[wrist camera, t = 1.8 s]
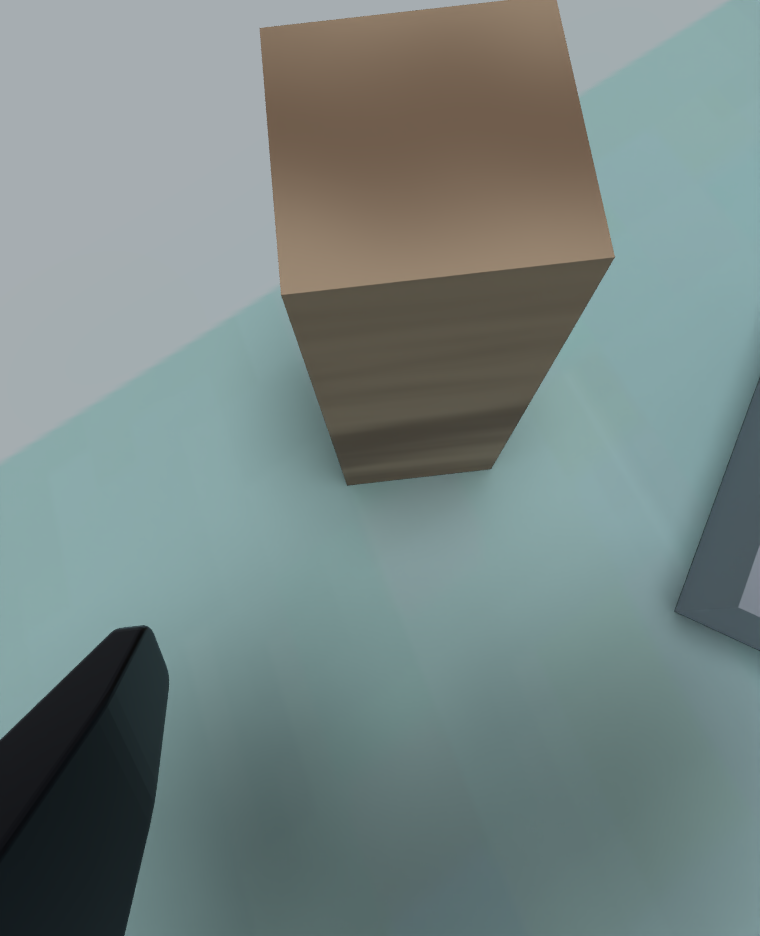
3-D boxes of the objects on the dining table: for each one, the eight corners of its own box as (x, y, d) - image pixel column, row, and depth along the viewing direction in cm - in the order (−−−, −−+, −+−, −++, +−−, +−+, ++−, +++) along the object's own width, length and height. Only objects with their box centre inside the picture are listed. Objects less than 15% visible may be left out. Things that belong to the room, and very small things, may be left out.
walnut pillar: (491, 468, 22) (614, 257, 10) (347, 485, 22) (281, 295, 10) (469, 337, 23) (554, -5, 11) (333, 352, 23) (259, 27, 11)
